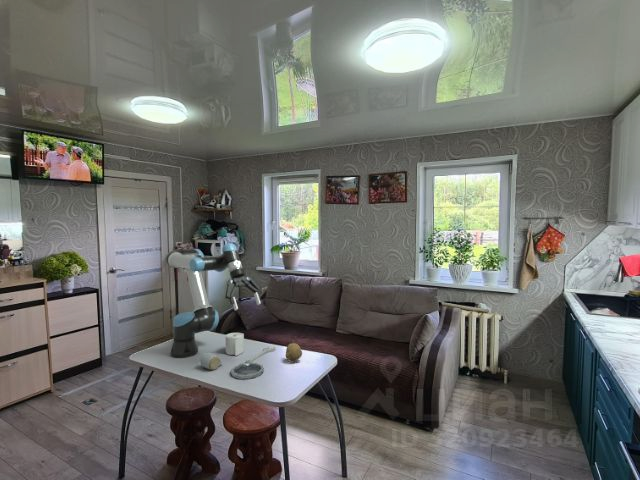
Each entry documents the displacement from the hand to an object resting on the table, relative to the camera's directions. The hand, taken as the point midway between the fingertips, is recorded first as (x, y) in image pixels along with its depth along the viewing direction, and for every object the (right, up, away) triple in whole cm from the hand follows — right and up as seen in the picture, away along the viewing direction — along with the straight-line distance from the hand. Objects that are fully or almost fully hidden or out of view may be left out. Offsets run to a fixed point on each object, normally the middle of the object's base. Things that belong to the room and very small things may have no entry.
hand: (248, 307), depth 177 cm
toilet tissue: (-13, -32, +23) cm, 41 cm away
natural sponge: (+24, -32, +9) cm, 41 cm away
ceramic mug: (-19, -33, +1) cm, 38 cm away
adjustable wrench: (+3, -32, +19) cm, 37 cm away
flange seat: (+1, -33, -5) cm, 33 cm away
